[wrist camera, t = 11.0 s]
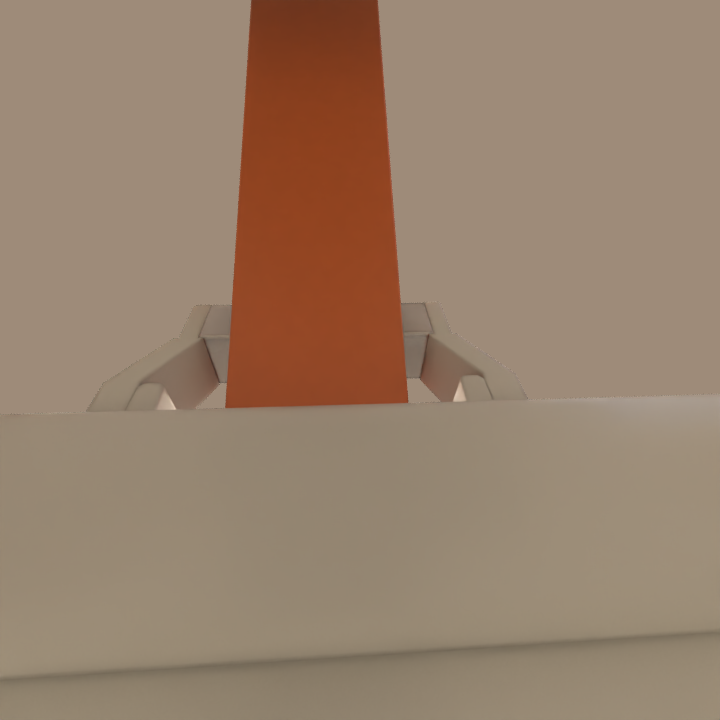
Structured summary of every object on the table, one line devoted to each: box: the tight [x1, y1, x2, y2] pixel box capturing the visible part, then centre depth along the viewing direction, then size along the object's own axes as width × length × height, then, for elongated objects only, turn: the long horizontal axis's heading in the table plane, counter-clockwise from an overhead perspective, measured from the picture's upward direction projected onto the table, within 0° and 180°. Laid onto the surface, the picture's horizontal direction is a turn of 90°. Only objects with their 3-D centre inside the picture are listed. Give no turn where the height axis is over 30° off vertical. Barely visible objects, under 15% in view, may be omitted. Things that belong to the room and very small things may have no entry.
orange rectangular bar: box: [225, 0, 408, 408], centre depth 14 cm, size 25×4×3 cm, turn 178°
